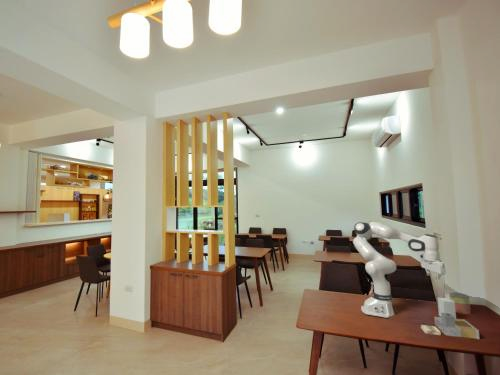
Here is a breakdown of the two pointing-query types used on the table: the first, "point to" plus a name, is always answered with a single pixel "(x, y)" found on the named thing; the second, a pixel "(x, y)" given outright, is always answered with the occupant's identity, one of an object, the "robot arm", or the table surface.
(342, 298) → the table surface
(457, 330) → the grey yellow rectangular frame
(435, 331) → the tab
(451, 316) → the nut block
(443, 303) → the supplement box
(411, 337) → the table surface
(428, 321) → the table surface
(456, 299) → the canned food
